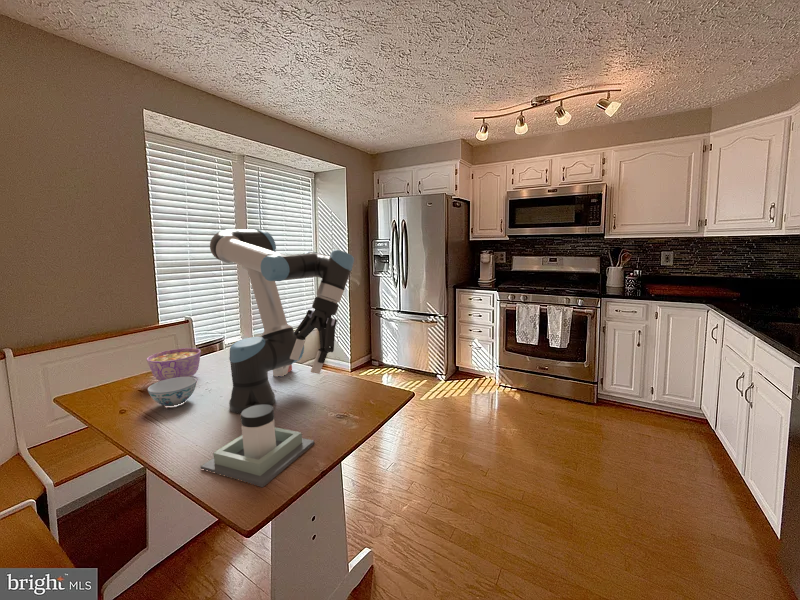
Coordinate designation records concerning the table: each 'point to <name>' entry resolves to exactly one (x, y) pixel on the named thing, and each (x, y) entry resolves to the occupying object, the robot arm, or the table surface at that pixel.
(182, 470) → the table surface
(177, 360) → the bowl of food
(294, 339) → the robot arm
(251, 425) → the jar
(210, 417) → the table surface
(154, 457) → the table surface
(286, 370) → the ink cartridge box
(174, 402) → the chinaware
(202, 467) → the green and grey tray
